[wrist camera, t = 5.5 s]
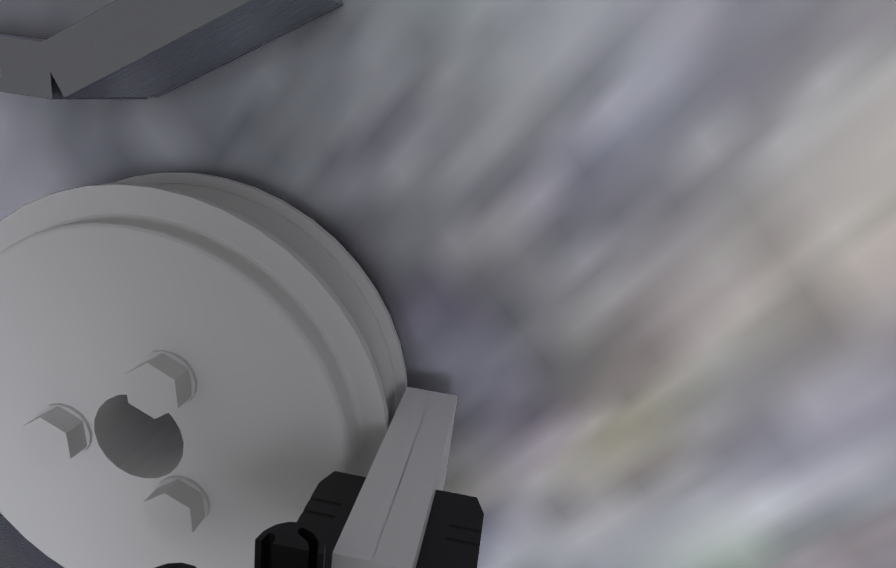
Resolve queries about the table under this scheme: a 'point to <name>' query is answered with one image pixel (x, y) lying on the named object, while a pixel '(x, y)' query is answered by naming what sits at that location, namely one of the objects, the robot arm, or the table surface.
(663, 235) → the table surface
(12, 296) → the grey pulley wheel
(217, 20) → the steel bracket
